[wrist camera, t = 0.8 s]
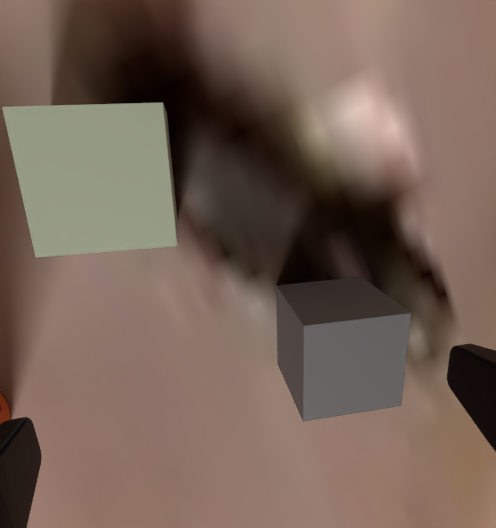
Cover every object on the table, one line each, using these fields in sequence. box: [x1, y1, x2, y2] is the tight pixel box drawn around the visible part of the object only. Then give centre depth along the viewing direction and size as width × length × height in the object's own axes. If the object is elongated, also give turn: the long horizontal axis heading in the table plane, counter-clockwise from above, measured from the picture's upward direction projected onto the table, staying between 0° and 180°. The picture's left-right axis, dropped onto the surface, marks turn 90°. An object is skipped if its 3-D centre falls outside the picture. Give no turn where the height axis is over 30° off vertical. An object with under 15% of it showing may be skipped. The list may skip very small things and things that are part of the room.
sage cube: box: [2, 103, 177, 257], centre depth 16 cm, size 5×5×5 cm
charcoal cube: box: [276, 277, 411, 421], centre depth 20 cm, size 5×5×5 cm
